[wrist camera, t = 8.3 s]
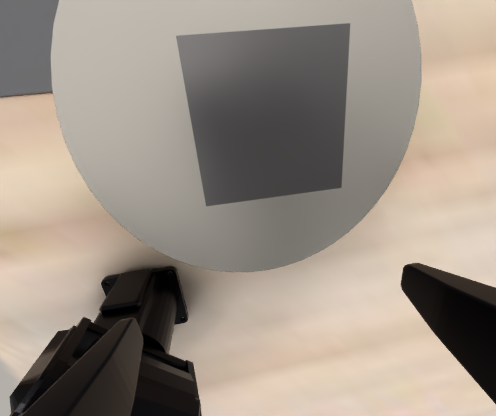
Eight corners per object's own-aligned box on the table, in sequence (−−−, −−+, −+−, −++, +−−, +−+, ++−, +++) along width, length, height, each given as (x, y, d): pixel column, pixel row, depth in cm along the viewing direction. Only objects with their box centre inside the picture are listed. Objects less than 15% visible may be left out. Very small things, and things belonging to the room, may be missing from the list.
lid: (386, 242, 11) (449, 287, 8) (127, 284, 10) (90, 353, 7) (438, -122, 7) (619, -320, 4) (-17, -116, 6) (-282, -385, 3)
